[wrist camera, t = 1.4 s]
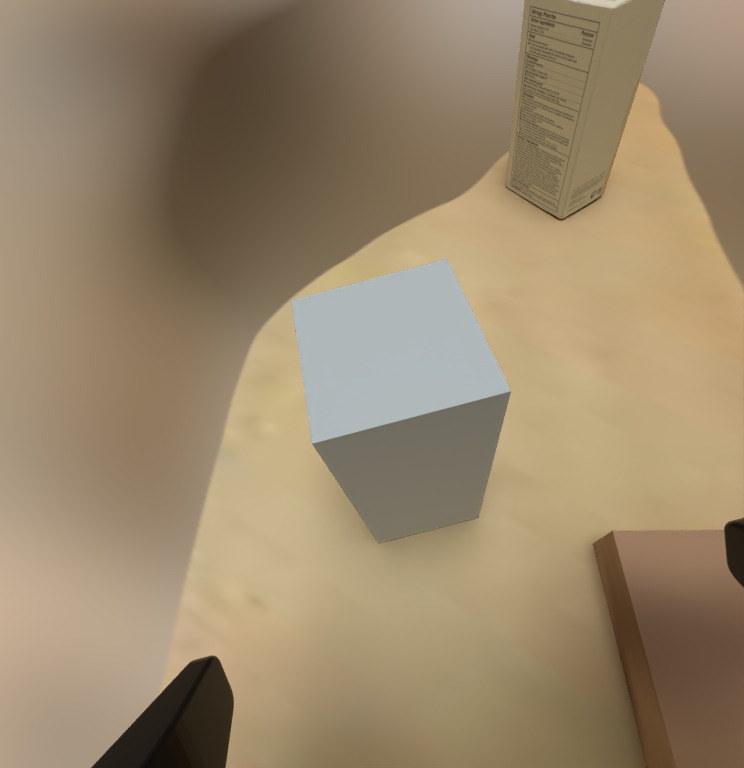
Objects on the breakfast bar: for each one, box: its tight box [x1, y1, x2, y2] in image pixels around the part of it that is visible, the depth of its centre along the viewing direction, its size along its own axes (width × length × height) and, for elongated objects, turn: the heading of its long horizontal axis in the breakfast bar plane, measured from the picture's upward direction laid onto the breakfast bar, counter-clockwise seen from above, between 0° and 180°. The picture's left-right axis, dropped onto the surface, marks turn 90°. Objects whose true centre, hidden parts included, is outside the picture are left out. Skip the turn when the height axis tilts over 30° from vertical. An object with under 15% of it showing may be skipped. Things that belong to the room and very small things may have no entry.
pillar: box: [292, 259, 511, 543], centre depth 16 cm, size 5×5×12 cm
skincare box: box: [506, 0, 665, 219], centre depth 27 cm, size 6×4×12 cm
